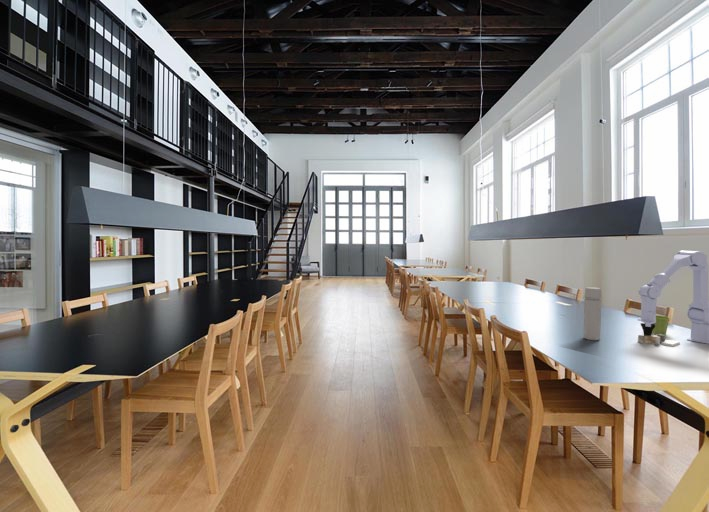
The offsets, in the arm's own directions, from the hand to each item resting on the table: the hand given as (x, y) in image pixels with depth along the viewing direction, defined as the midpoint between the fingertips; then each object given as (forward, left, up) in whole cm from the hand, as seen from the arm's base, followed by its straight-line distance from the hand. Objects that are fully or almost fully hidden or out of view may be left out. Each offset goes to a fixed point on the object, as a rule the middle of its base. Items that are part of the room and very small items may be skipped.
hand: (647, 338), depth 186 cm
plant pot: (+4, -22, -1) cm, 23 cm away
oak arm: (-2, +1, -1) cm, 3 cm away
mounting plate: (-8, -3, -1) cm, 9 cm away
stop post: (-5, +4, -1) cm, 7 cm away
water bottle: (+17, +18, -1) cm, 25 cm away
